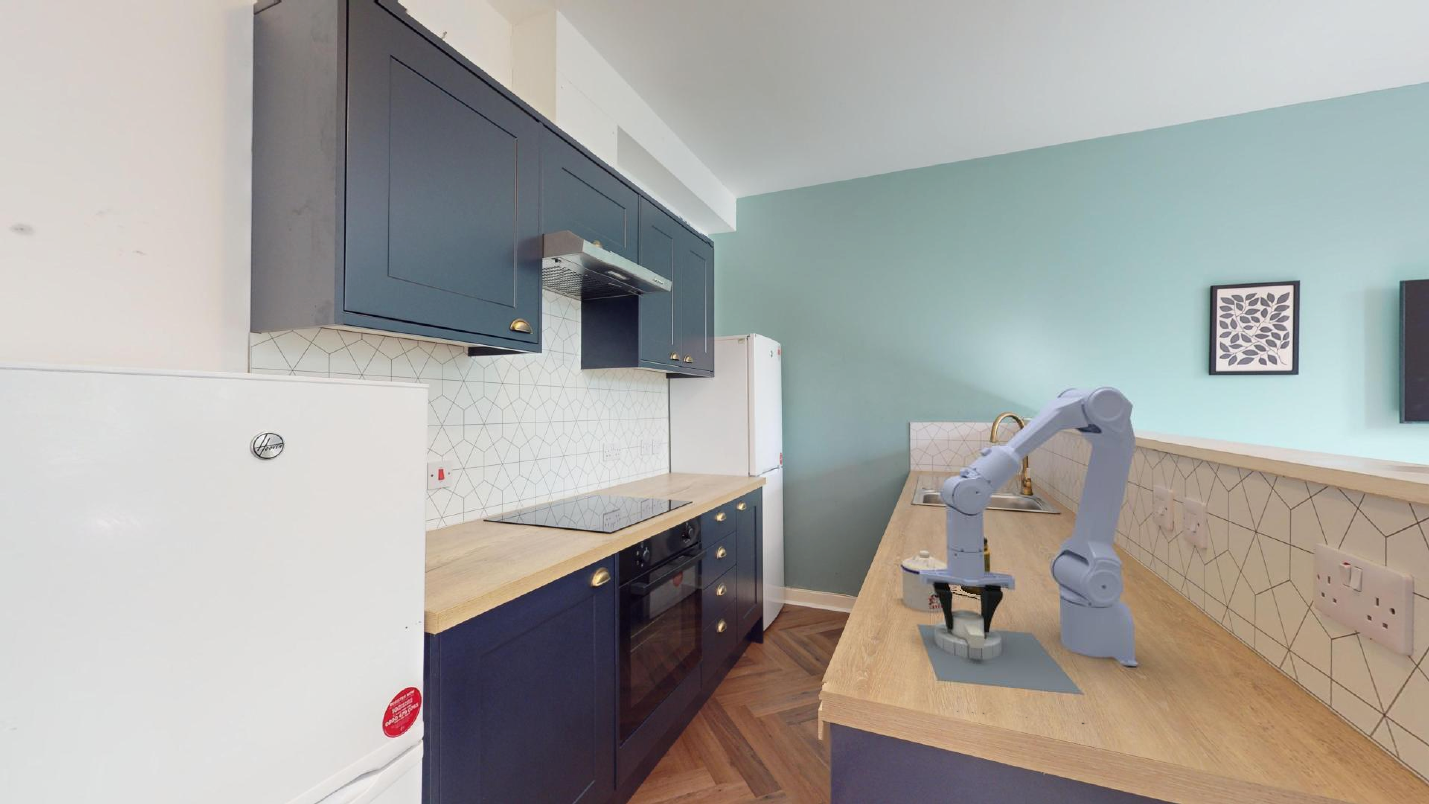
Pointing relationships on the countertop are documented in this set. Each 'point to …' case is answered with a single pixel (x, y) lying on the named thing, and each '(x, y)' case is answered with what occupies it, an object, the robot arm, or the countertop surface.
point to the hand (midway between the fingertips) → (966, 628)
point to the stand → (995, 660)
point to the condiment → (987, 569)
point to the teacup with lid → (913, 589)
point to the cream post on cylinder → (969, 627)
